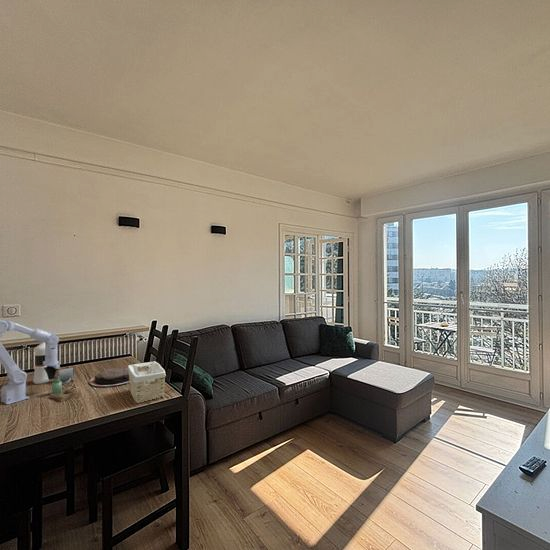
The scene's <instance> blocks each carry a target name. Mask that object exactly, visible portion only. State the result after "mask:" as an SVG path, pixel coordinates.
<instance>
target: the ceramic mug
mask: <svg viewBox="0 0 550 550" xmlns="http://www.w3.org/2000/svg"><path fill="white" fill-rule="evenodd" d="M56 376H60V379H59V381H62V385H66V384H68V383H70V382H71V381H74V380H75V368H74V367H70V368H69V367H68V368H64V369H63V368H62V369H59V370H58V371H57V375H56Z"/></svg>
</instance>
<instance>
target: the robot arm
mask: <svg viewBox="0 0 550 550" xmlns="http://www.w3.org/2000/svg"><path fill="white" fill-rule="evenodd" d="M7 331H8V332H9V331H10V332H11V331H16V332H19V333H23V334H26V335H28V336H29V338H30V339H33V340H35V341H38V342H40V341H41V342H45V361H43V365H45V366H47V367H44V369H45V371H46V373H47V376H48V379H49V380H51V379H52V380H55V379H54V377H56V376H55V375H56V373H57V372H58V371H57V370H58V369H60V368H61V366H60V361H59V360H58V356H59V355H58V344H59V341H60V338H59V336H58V335H57V334H54V333H52V332H51V331H46V330H43V328H41V327H39V328H34V329H32V328H30V327H27V326H24V325H22V324H20V323H16V322H14V321H10V320H4V319H0V338H1V337H2V335H3V334H5V332H7ZM41 342H40V343H41ZM0 365H2V367H3V369H4V370H5V372H6V376H7V379H8V380H9V381H8V382H7V384H5V385H3V386H2V387H1V388H0V389H1V394H0V395H1V396H0V397H1V398H0V402H2V403H4V404H6V405H10V404H13V403H17V402H20V401H21V402H22V401H24V400H28V399H30V397H29V396H27V395H26V394H27V378H28V374H27V372H26V371H23V370H22V369H21V368H20V367H19V365H17V363H16V362H15V360H14V359H13V357H12V356H11V355H10V354H9V352H8V351H7V349H6V347H4V345H3V344H2V342H1V341H0ZM52 380H51V381H52Z"/></svg>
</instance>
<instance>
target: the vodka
mask: <svg viewBox="0 0 550 550" xmlns="http://www.w3.org/2000/svg"><path fill="white" fill-rule="evenodd" d="M39 342H40V343H39V344H38V345H37V346H35V347H34V348H33V349H34V350H33V351H34V367H33V368H34V373H33V374H34V375H33V379H32V382H33V384H35V385H41V384H42V383H43V384H46V383H50V382H51V381H52V380H53V379H51V380H49V379H48V376H47V373H46V371H45V369H44V367H47V366H45V365H43V361H45V342H41V341H39Z"/></svg>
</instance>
